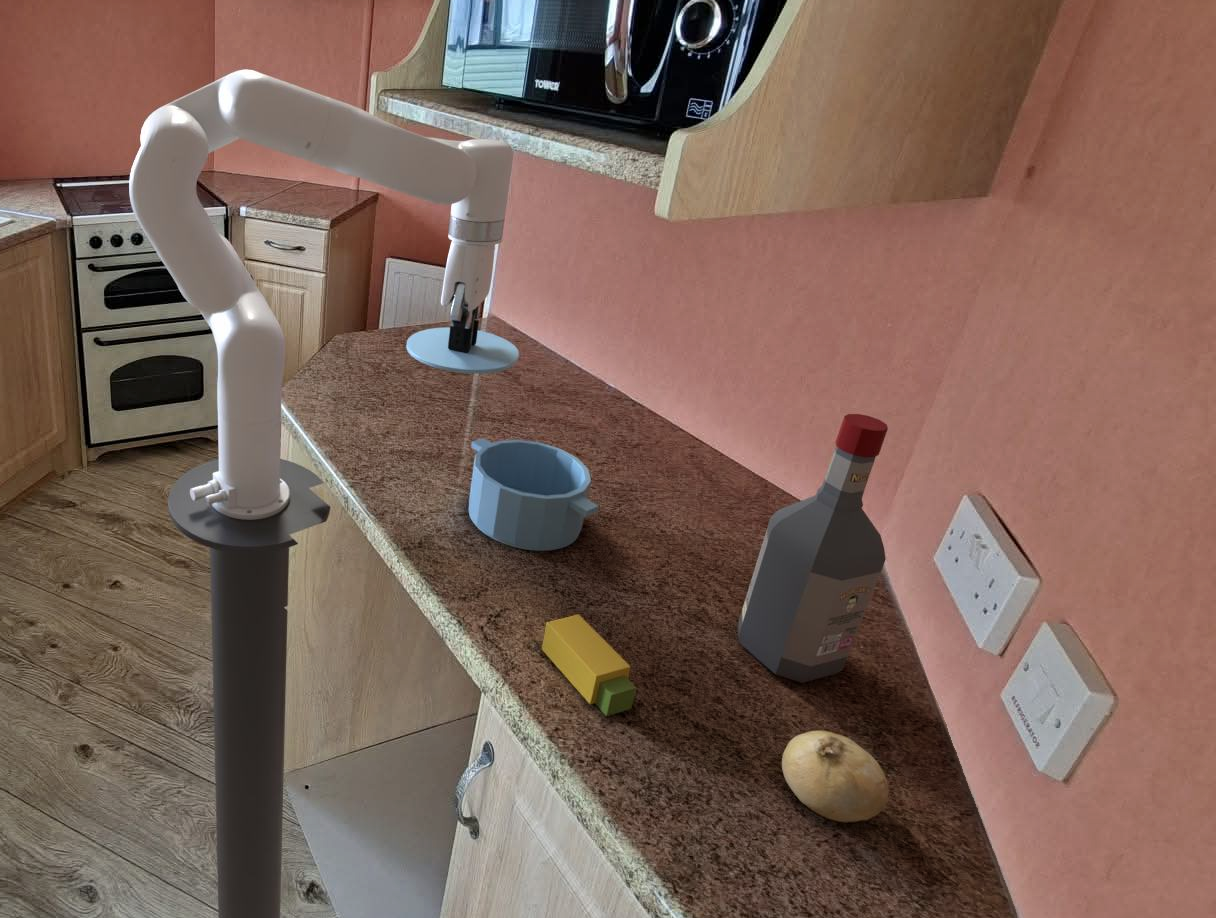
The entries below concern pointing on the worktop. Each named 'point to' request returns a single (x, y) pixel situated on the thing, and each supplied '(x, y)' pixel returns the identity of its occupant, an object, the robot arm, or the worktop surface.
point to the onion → (834, 776)
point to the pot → (529, 494)
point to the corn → (589, 664)
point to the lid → (481, 358)
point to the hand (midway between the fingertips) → (462, 346)
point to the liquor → (818, 567)
